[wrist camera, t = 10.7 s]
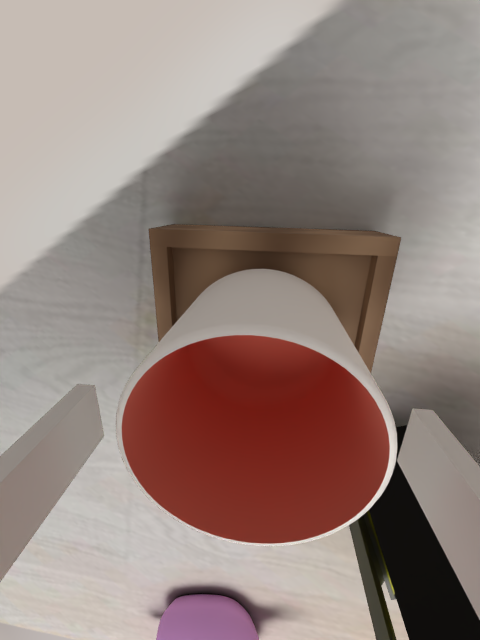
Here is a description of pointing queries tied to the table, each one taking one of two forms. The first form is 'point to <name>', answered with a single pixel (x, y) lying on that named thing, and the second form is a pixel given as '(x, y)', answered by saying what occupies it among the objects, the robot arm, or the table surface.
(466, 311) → the table surface
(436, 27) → the table surface
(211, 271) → the wooden tray
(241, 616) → the teapot
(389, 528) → the electrical component
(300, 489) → the cup
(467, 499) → the robot arm
